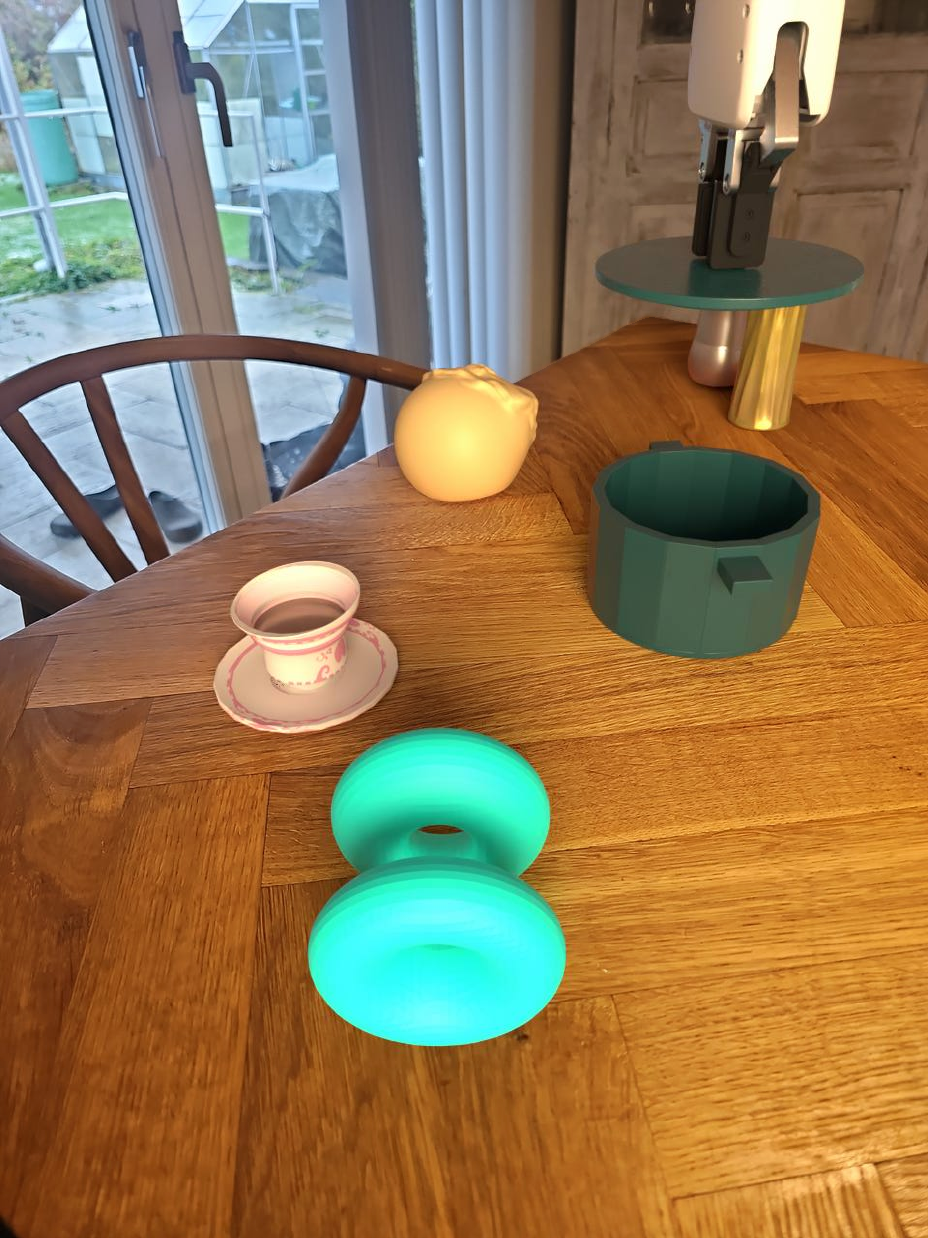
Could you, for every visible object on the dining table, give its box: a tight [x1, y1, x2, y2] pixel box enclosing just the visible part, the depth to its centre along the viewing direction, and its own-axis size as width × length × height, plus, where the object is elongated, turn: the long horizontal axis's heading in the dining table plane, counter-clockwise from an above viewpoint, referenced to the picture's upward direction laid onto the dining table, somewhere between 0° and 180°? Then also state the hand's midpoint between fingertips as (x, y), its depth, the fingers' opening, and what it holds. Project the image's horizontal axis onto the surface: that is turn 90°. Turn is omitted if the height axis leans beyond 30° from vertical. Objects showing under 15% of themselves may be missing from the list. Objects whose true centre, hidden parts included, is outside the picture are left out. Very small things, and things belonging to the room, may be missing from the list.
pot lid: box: [594, 177, 866, 311], centre depth 50 cm, size 16×16×6 cm
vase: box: [726, 305, 808, 432], centre depth 83 cm, size 6×6×14 cm
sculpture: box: [393, 363, 539, 503], centre depth 74 cm, size 11×12×11 cm
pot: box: [585, 439, 822, 660], centre depth 59 cm, size 15×20×8 cm
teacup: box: [212, 560, 399, 734], centre depth 54 cm, size 12×12×6 cm
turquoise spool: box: [307, 727, 567, 1047], centre depth 36 cm, size 10×10×10 cm
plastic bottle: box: [687, 310, 748, 388], centre depth 90 cm, size 6×7×20 cm
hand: (726, 257), depth 51 cm, fingers closed on pot lid, 2 cm apart
